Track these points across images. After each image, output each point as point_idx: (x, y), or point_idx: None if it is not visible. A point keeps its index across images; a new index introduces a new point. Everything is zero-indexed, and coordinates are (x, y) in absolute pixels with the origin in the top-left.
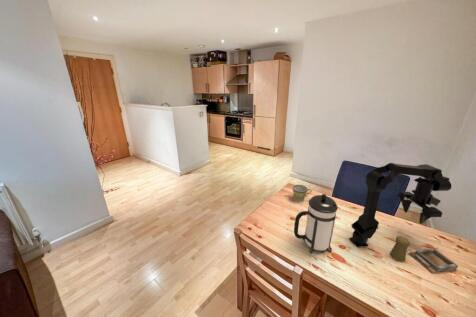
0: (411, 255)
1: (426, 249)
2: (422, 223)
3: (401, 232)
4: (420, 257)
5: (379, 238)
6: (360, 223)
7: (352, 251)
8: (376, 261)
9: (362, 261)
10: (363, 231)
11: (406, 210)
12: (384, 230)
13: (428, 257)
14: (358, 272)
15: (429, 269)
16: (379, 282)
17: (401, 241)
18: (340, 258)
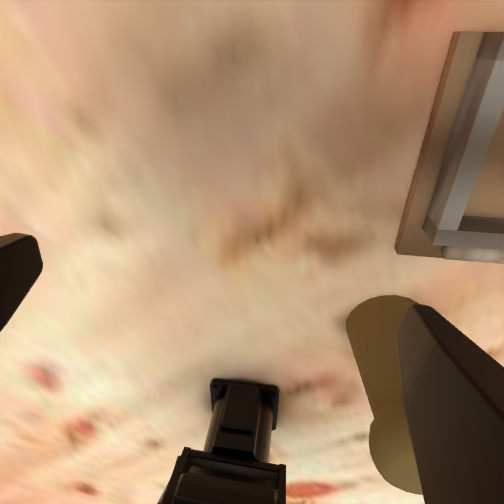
0: (418, 251)
1: (470, 144)
2: (433, 316)
3: (178, 77)
4: (483, 256)
5: (230, 299)
6: None
7: (291, 447)
8: (370, 417)
9: (350, 451)
10: (231, 469)
11: (3, 288)
12: (152, 206)
13: (501, 162)
14: (387, 485)
15: None
16: None
17: None
18: (312, 488)
